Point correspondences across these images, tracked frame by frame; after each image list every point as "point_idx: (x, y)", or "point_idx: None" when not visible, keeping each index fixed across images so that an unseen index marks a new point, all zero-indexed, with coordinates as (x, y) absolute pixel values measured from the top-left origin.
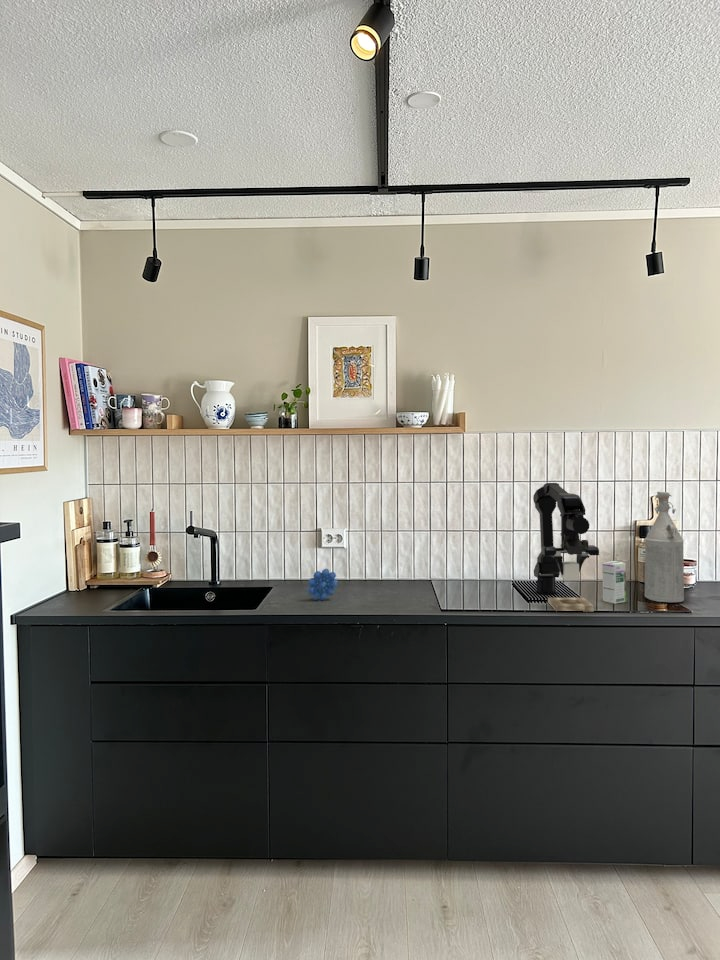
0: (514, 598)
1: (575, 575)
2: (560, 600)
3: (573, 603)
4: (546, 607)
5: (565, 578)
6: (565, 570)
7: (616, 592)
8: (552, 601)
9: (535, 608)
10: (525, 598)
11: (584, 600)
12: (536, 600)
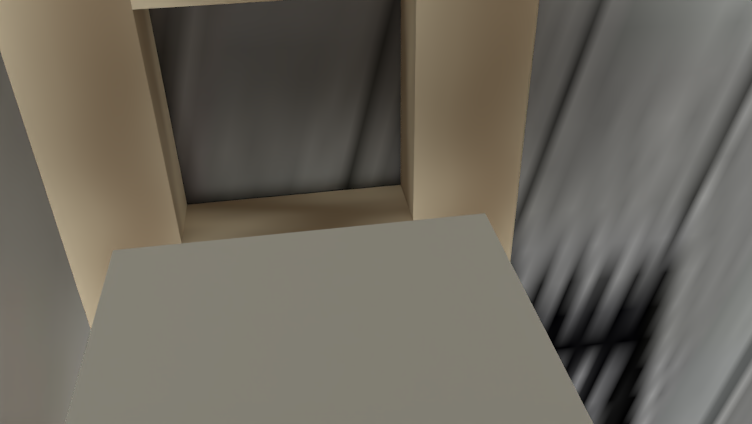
0: (718, 383)
1: (205, 318)
2: (387, 217)
3: (225, 212)
4: (570, 73)
5: (472, 236)
6: (544, 396)
7: None
8: (520, 119)
9: (716, 16)
10: (626, 395)
11: (80, 206)
12: (558, 344)
